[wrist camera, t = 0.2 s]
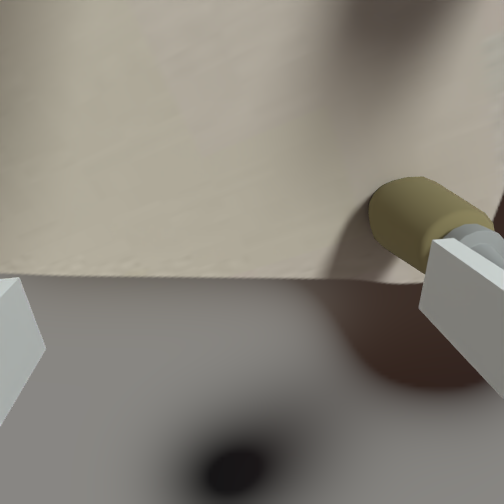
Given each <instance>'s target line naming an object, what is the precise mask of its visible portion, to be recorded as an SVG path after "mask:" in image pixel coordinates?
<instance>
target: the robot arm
mask: <svg viewBox="0 0 504 504" xmlns="http://www.w3.org/2000/svg"><path fill="white" fill-rule="evenodd" d="M419 309H420V310H421V311H422V312H423V313H424V315H426V317H427V318H428V319H429V320H430V321H431V322H432V323H433V324H434V325H435V326H436V327H437V328H438V329H439V331H440V332H441V333H442V334H443V335H444V336H445V337H446V338H447V339H448V340H449V341H450V342H451V343H452V345H453V346H454V347H455V348H456V349H457V350H458V351H459V352H460V353H461V354H462V355H463V356H464V357H465V358H466V360H467V361H468V362H469V363H470V364H471V365H472V366H473V367H474V368H475V369H476V370H477V371H478V372H479V373H480V375H481V376H482V377H483V378H484V379H485V380H486V381H487V382H488V383H489V384H490V385H491V386H492V387H493V388H494V390H495V391H496V392H497V393H498V394H499V395H500V396H501V397H502V398H503V399H504V270H503V269H502V268H500V267H499V266H497V265H495V264H494V263H492V262H491V261H489V260H488V259H486V258H484V257H483V256H481V255H480V254H478V253H477V252H475V251H473V250H472V249H470V248H469V247H467V246H466V245H464V244H462V243H461V242H459V241H458V240H456V239H455V238H447V239H436V240H432V243H431V248H430V253H429V258H428V263H427V268H426V273H425V278H424V283H423V289H422V294H421V299H420V304H419ZM45 350H46V347H45V344H44V341H43V339H42V336H41V333H40V331H39V328H38V326H37V323H36V320H35V317H34V315H33V312H32V310H31V308H30V304H29V301H28V299H27V296H26V294H25V291H24V288H23V286H22V283H21V280H20V278H19V277H18V278H7V279H0V427H1V425H2V423H3V421H4V420H5V418H6V416H7V415H8V413H9V411H10V410H11V408H12V406H13V405H14V403H15V401H16V399H17V398H18V396H19V394H20V392H21V391H22V389H23V387H24V386H25V384H26V382H27V381H28V379H29V377H30V375H31V374H32V372H33V370H34V368H35V367H36V365H37V364H38V362H39V360H40V358H41V357H42V355H43V353H44V352H45Z"/></svg>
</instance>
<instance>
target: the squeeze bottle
mask: <svg viewBox="0 0 504 504" xmlns="http://www.w3.org/2000/svg"><path fill="white" fill-rule="evenodd" d="M368 215H369V222H370V227H371V230H372V233H373V236H374V238H375V239H376V240H377V241H378V242H379V243H380V244H381V245H382V246H383V247H384V248H385V249H387V250H388V251H390V252H391V253H393V254H394V255H396V256H397V257H399V258H400V259H402V260H404V261H405V262H407V263H408V264H410V265H411V266H413V267H414V268H416V269H417V270H419V271H420V272H422V273H424V274H425V273H426V268H427V263H428V258H429V253H430V248H431V243H432V240H436V239H447V238H455V239H456V240H458V241H459V242H461V243H462V244H464V245H466V246H467V247H469V248H470V249H472V250H473V251H475V252H477V253H478V254H480V255H481V256H483V257H484V258H486V259H488V260H489V261H491V262H492V263H494V264H495V265H497V266H499V267H500V268H502V269H503V270H504V239H503V238H502V237H501V236H500V234H498V233H496V232H494V226H493V223H492V221H491V220H490V219H489V218H488V216H487V215H486V214H485V213H484V212H482V211H481V210H479V209H478V208H476V207H475V206H473V205H471V204H470V203H468V202H467V201H465V200H464V199H462V198H460V197H459V196H457V195H456V194H454V193H453V192H451V191H449V190H448V189H446V188H445V187H443V186H442V185H440V184H438V183H437V182H435V181H432V180H430V179H427V178H425V177H406V178H402V179H398V180H394V181H391V182H389V183H386V184H384V185H382V186H381V187H380V188H379V189H378V190H377V191H376V192H375V193H374V194H373V196H372V198H371V200H370V202H369V210H368Z"/></svg>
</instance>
